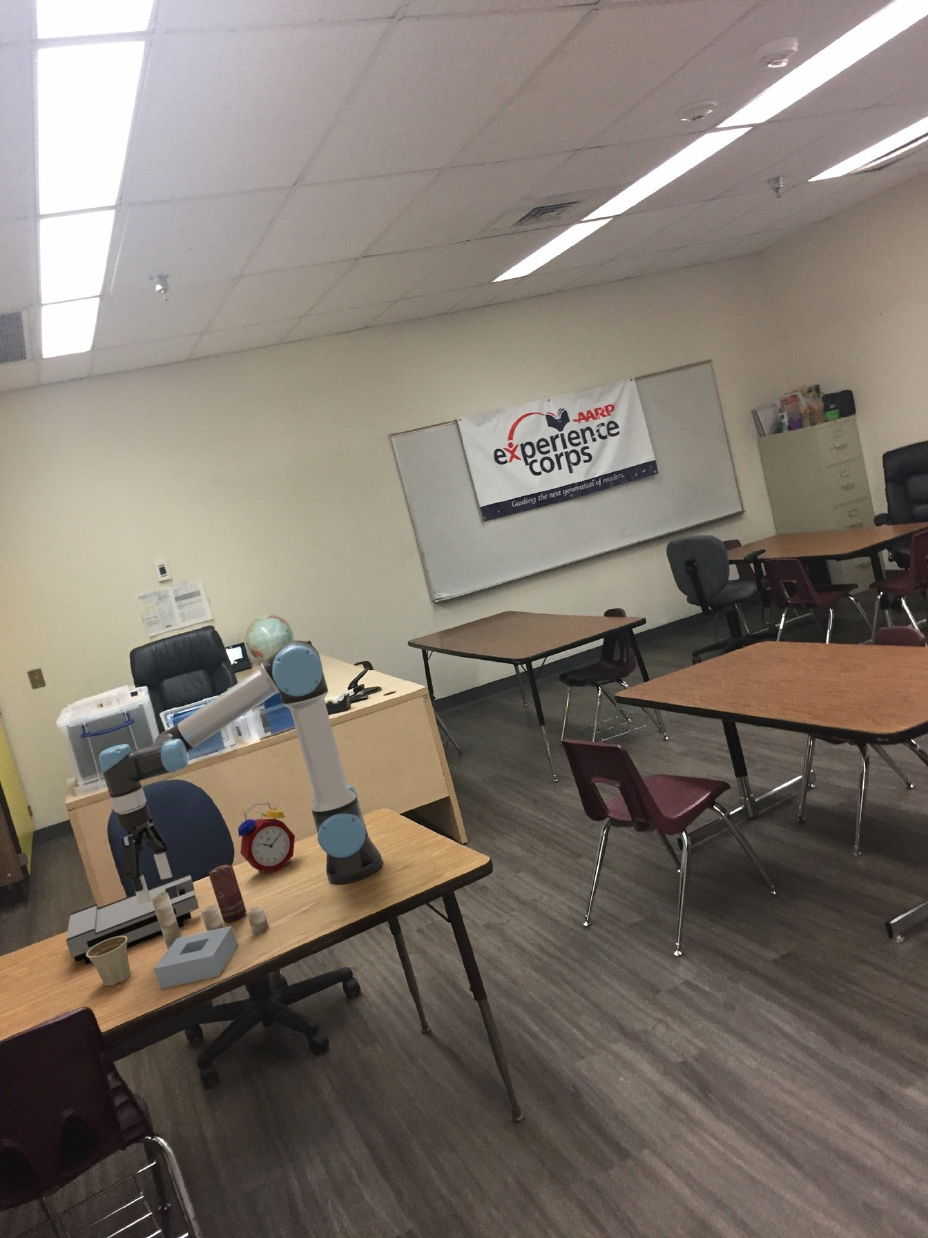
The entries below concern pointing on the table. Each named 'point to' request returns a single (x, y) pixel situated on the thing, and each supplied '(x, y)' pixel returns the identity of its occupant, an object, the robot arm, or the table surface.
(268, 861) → the alarm clock
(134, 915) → the game console
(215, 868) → the can
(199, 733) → the robot arm
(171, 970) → the hole block
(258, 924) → the dowel short
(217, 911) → the dowel medium
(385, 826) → the table surface
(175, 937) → the dowel long
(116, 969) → the flower pot
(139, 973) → the table surface
